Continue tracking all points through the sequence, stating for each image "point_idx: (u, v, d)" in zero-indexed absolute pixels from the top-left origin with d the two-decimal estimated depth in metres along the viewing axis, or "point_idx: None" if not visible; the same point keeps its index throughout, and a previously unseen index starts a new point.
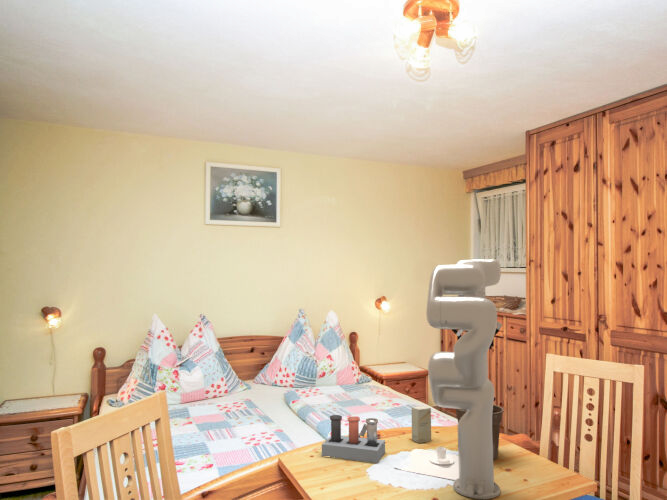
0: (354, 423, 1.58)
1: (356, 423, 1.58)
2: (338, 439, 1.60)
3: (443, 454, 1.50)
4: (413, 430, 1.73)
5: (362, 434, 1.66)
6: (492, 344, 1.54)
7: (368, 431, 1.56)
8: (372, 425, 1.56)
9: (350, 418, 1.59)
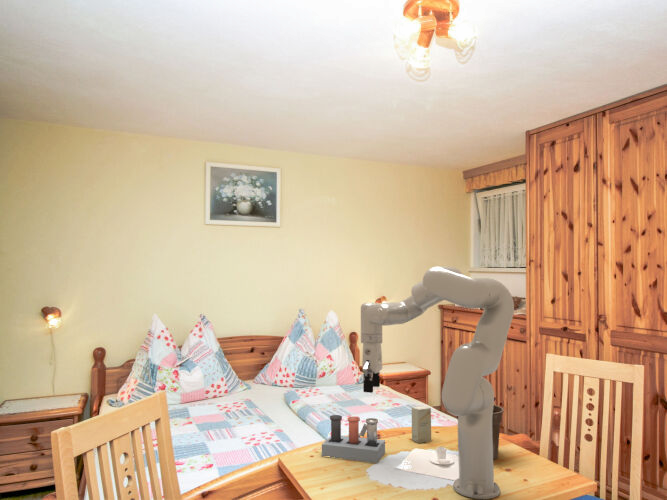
0: (354, 423, 1.58)
1: (356, 423, 1.58)
2: (338, 439, 1.60)
3: (443, 454, 1.50)
4: (413, 430, 1.73)
5: (362, 434, 1.66)
6: None
7: (368, 431, 1.56)
8: (372, 425, 1.56)
9: (350, 418, 1.59)
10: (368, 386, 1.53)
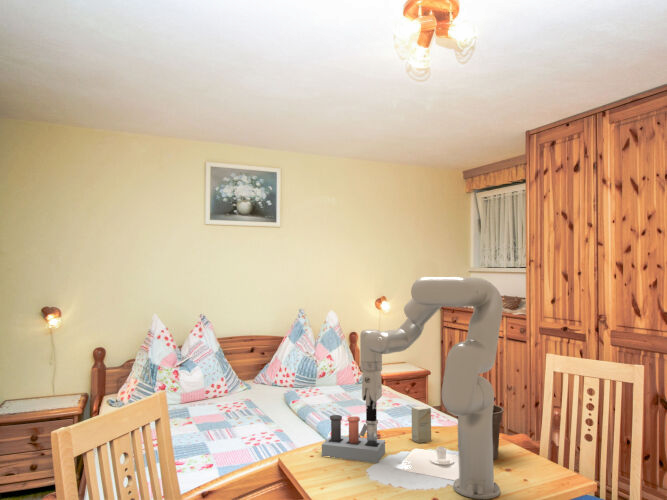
0: (354, 423, 1.58)
1: (356, 423, 1.58)
2: (338, 439, 1.60)
3: (443, 454, 1.50)
4: (413, 430, 1.73)
5: (362, 434, 1.66)
6: None
7: (368, 431, 1.56)
8: (372, 425, 1.56)
9: (350, 418, 1.59)
10: (371, 415, 1.56)
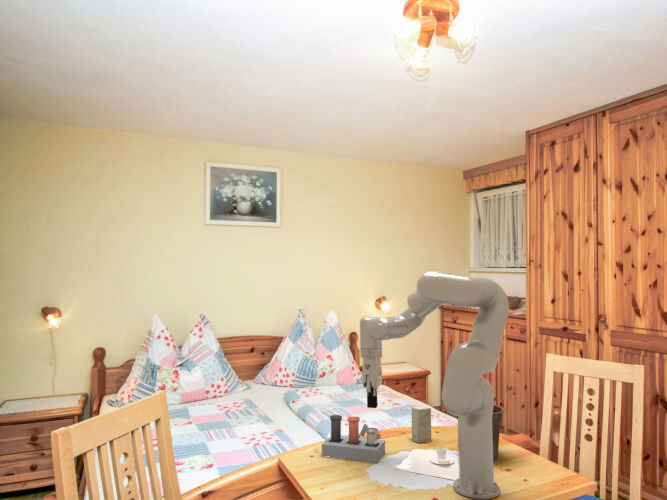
0: (354, 423, 1.58)
1: (356, 423, 1.58)
2: (338, 439, 1.60)
3: (443, 454, 1.50)
4: (413, 430, 1.73)
5: (362, 434, 1.66)
6: None
7: (368, 440, 1.56)
8: (372, 434, 1.56)
9: (350, 418, 1.59)
10: (372, 402, 1.57)
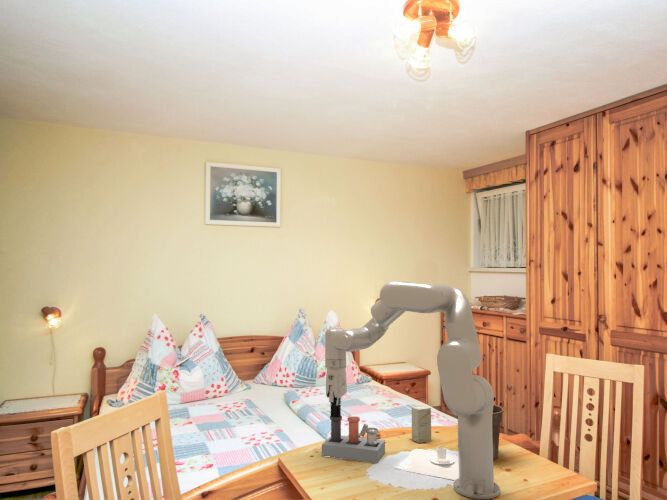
0: (354, 423, 1.58)
1: (356, 423, 1.58)
2: (338, 439, 1.60)
3: (443, 454, 1.50)
4: (413, 430, 1.73)
5: (362, 434, 1.66)
6: None
7: (368, 440, 1.56)
8: (372, 434, 1.56)
9: (350, 418, 1.59)
10: (335, 411, 1.61)
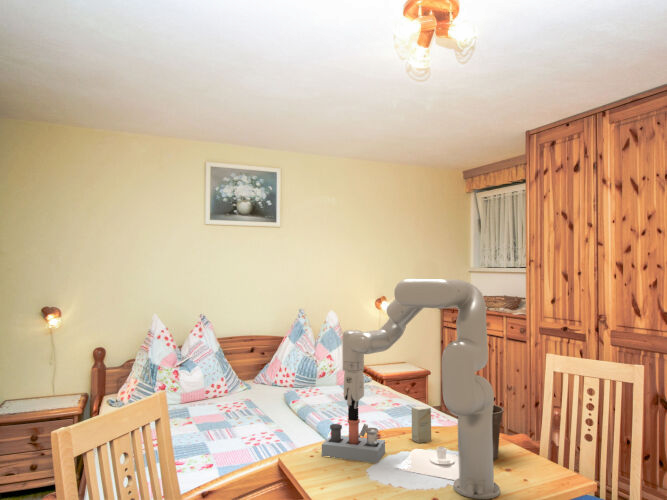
0: (354, 425, 1.58)
1: (356, 425, 1.58)
2: None
3: (443, 454, 1.50)
4: (413, 430, 1.73)
5: (362, 434, 1.66)
6: None
7: (368, 440, 1.56)
8: (372, 434, 1.56)
9: (350, 420, 1.59)
10: (353, 414, 1.59)
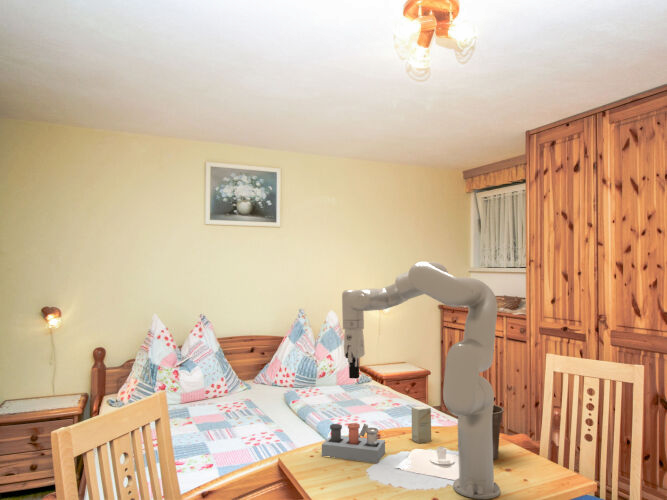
0: (354, 430, 1.58)
1: (356, 430, 1.58)
2: None
3: (443, 454, 1.50)
4: (413, 430, 1.73)
5: (362, 434, 1.66)
6: None
7: (368, 440, 1.56)
8: (372, 434, 1.56)
9: (350, 425, 1.59)
10: (353, 372, 1.59)
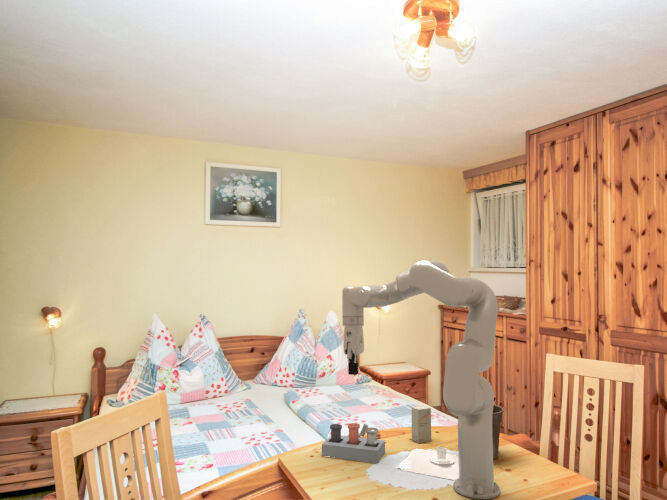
0: (354, 430, 1.58)
1: (356, 430, 1.58)
2: None
3: (443, 454, 1.50)
4: (413, 430, 1.73)
5: (362, 434, 1.66)
6: None
7: (368, 440, 1.56)
8: (372, 434, 1.56)
9: (350, 425, 1.59)
10: (353, 368, 1.60)
